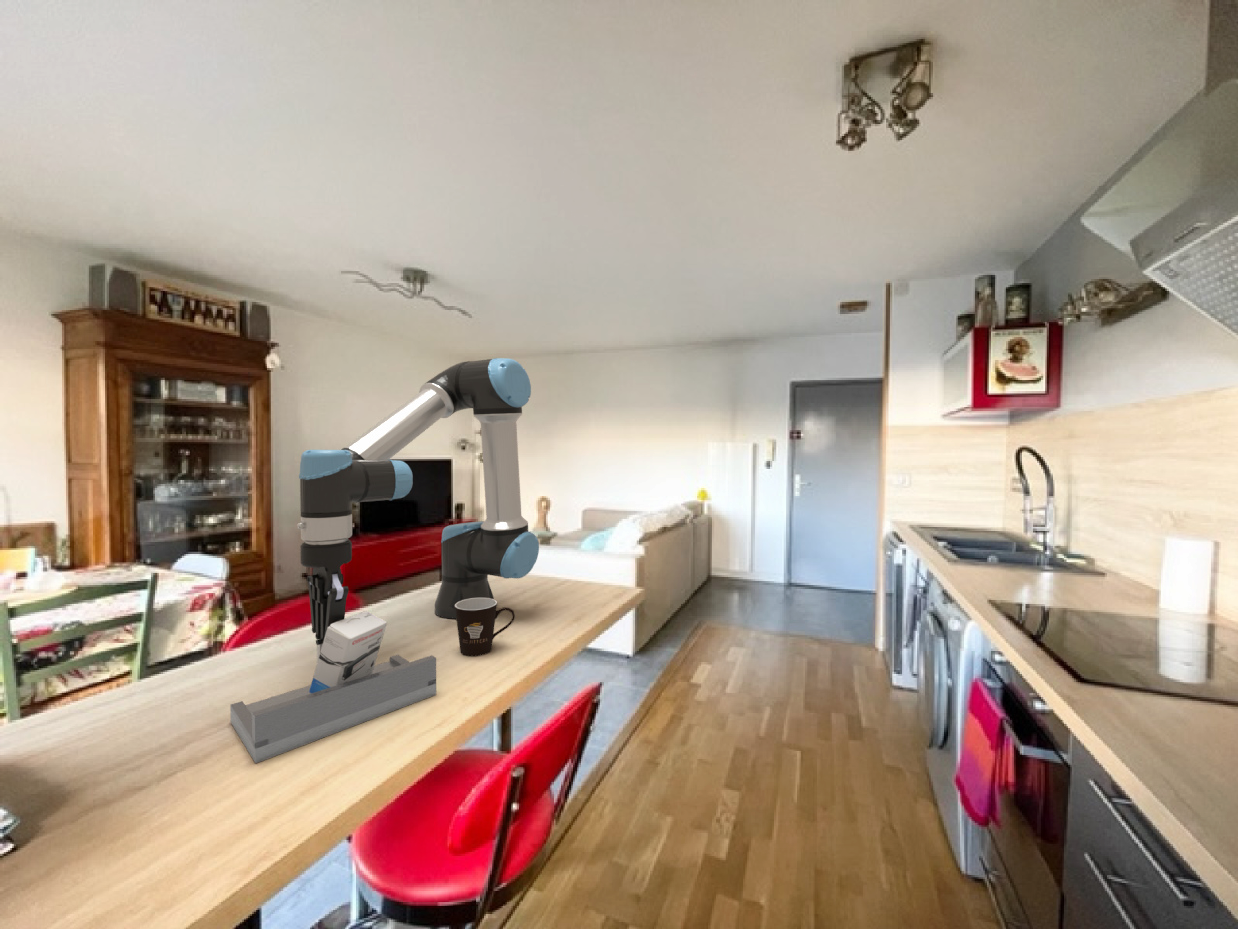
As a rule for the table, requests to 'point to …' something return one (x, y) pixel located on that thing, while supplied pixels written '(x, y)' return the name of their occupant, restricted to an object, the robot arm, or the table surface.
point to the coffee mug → (477, 625)
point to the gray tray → (331, 707)
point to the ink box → (348, 650)
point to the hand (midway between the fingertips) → (327, 677)
